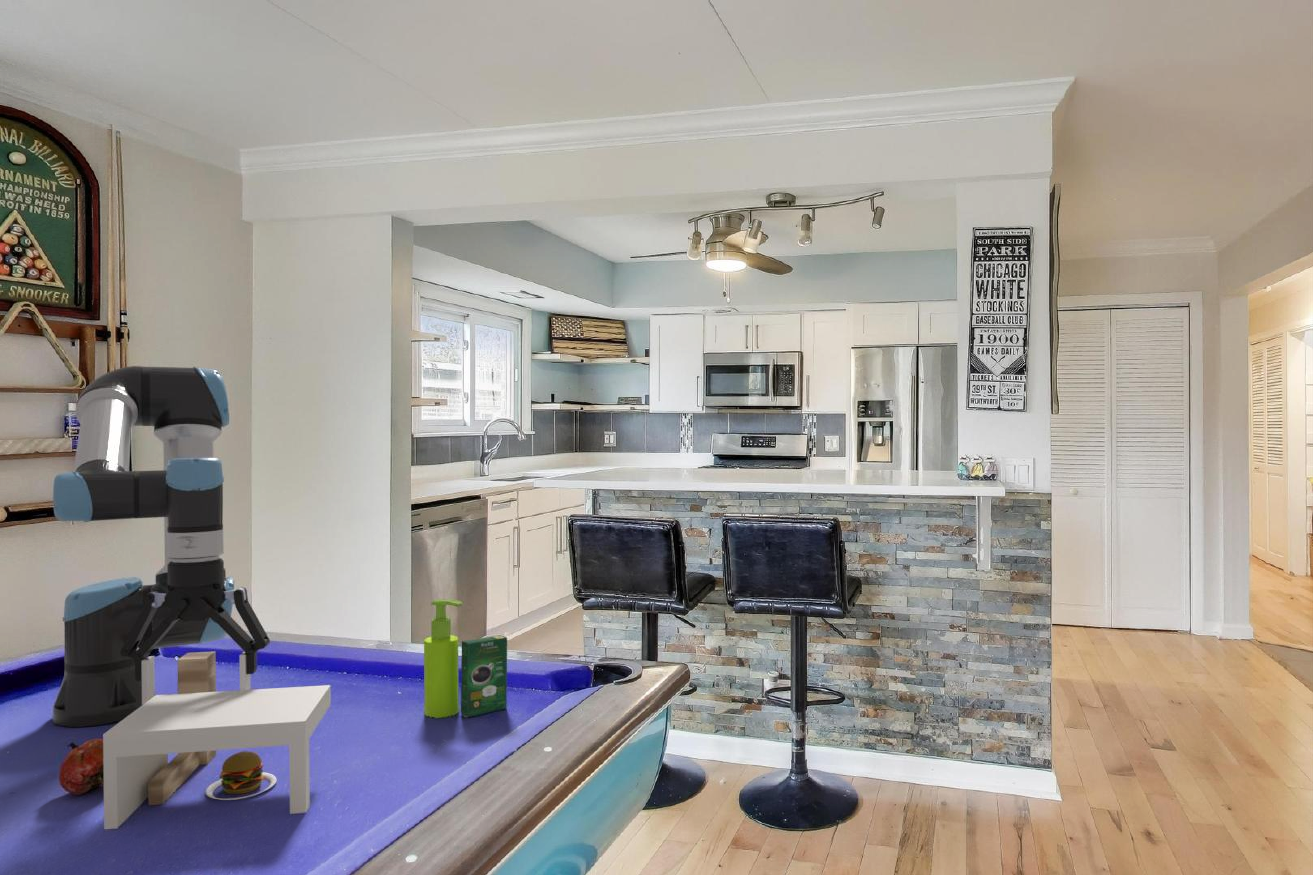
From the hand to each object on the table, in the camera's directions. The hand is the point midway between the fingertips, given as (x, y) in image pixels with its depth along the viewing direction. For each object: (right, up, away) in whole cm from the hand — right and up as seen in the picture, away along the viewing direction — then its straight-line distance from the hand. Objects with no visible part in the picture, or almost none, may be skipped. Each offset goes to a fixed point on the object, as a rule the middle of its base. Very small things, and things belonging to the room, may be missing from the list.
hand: (197, 698), depth 127 cm
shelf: (+11, -9, -12) cm, 19 cm away
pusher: (+1, -10, -6) cm, 11 cm away
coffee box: (+39, -9, +22) cm, 46 cm away
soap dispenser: (+32, -9, +21) cm, 40 cm away
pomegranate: (-9, -10, -10) cm, 17 cm away
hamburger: (+12, -10, -10) cm, 18 cm away
